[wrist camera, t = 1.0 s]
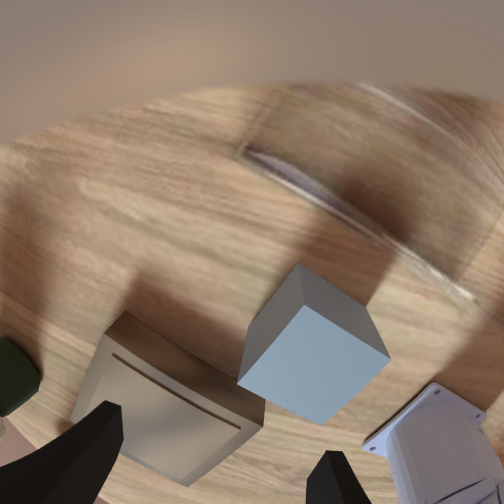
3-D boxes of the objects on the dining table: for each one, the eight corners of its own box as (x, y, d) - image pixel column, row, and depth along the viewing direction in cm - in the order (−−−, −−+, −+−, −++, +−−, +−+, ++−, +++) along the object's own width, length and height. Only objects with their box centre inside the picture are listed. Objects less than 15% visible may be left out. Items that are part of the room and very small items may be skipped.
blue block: (365, 306, 18) (391, 359, 13) (314, 364, 19) (321, 425, 14) (297, 261, 18) (304, 304, 12) (248, 326, 19) (236, 384, 14)
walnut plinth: (265, 396, 20) (263, 428, 17) (194, 462, 24) (186, 488, 21) (124, 311, 20) (102, 334, 16) (85, 398, 23) (68, 421, 20)
